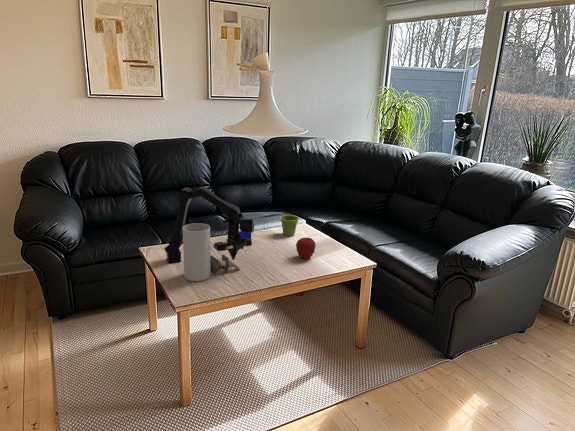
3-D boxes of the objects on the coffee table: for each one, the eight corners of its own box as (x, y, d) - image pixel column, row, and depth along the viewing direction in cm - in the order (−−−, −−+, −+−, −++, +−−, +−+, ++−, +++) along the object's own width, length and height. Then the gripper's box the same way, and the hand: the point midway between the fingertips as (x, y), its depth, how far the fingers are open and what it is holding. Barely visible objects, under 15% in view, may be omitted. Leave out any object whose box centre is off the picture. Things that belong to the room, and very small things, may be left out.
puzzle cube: (239, 248, 244) (240, 231, 241) (227, 243, 250) (227, 227, 247) (251, 243, 252) (251, 227, 249) (239, 239, 257) (239, 223, 255)
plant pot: (275, 234, 269) (276, 217, 266) (287, 230, 278) (288, 213, 274) (290, 239, 262) (290, 221, 258) (301, 234, 270) (302, 217, 267)
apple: (304, 252, 242) (306, 232, 238) (319, 258, 235) (320, 238, 231) (291, 256, 234) (292, 236, 231) (305, 262, 227) (306, 242, 224)
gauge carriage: (224, 271, 209) (224, 262, 208) (216, 263, 217) (216, 255, 216) (232, 269, 211) (232, 261, 210) (223, 262, 219) (223, 254, 218)
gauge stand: (215, 275, 207) (215, 264, 205) (206, 266, 217) (205, 255, 215) (239, 270, 214) (239, 259, 212) (229, 262, 223) (229, 251, 222)
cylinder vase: (212, 280, 202) (211, 230, 195) (185, 283, 198) (183, 232, 191) (209, 270, 213) (208, 222, 206) (183, 272, 210) (181, 223, 202)
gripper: (222, 238, 202) (222, 268, 207) (257, 232, 212) (256, 261, 216) (213, 231, 211) (213, 260, 216) (247, 226, 221) (246, 254, 225)
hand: (233, 259), depth 218 cm, fingers closed
